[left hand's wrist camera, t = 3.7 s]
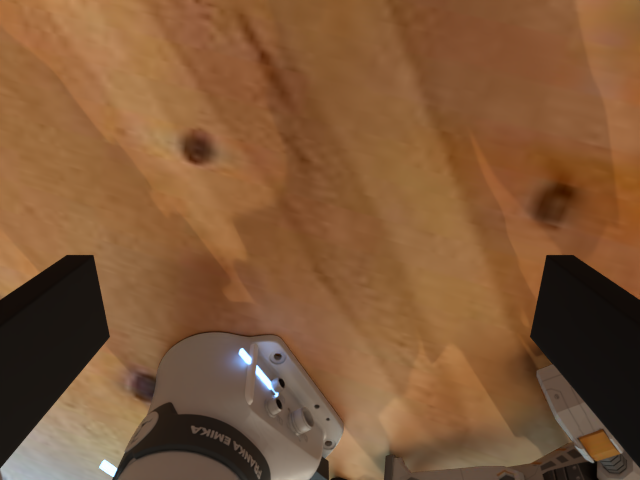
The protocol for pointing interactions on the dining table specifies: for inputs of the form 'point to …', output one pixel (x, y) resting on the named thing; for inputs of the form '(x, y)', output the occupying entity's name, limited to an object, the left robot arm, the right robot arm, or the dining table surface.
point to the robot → (558, 466)
